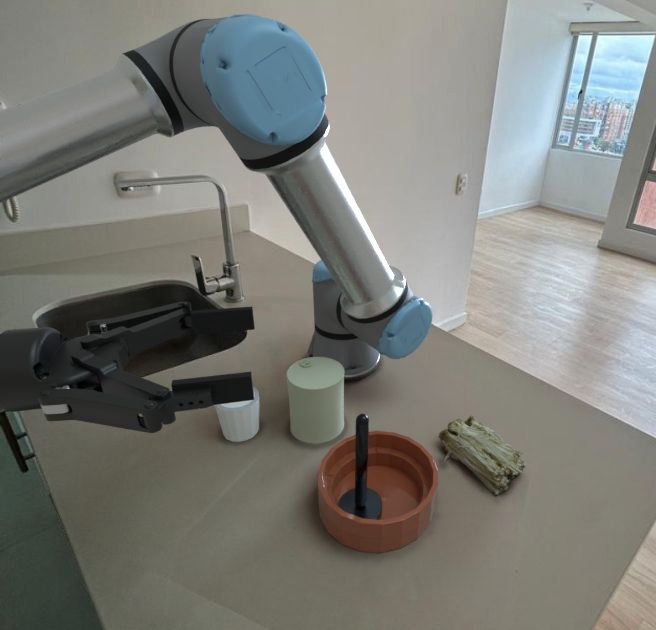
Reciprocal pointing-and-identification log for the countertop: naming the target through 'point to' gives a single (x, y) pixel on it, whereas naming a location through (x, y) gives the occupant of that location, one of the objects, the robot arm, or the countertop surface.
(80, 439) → the countertop surface
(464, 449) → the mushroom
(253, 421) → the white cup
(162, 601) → the countertop surface
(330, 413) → the can
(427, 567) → the countertop surface
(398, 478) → the bowl
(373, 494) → the peg stand
